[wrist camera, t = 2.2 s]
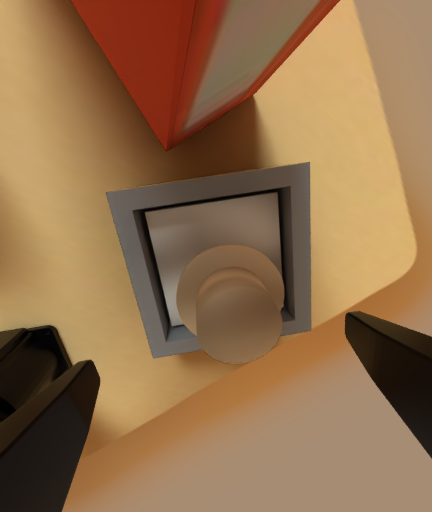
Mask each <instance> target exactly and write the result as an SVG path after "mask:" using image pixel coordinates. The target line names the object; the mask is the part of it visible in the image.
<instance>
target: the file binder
mask: <svg viewBox="0 0 432 512" xmlns="http://www.w3.org/2000/svg"><path fill="white" fill-rule="evenodd" d="M339 1H340V0H71V2H72V4H73V5H74V7H75V8H76V10H77V11H78V13H79V15H80V16H81V18H82V19H83V21H84V22H85V24H86V26H87V27H88V29H89V30H90V32H91V34H92V35H93V37H94V38H95V40H96V41H97V43H98V45H99V46H100V48H101V49H102V51H103V52H104V54H105V56H106V57H107V59H108V60H109V62H110V63H111V65H112V67H113V68H114V70H115V71H116V73H117V74H118V76H119V78H120V79H121V81H122V82H123V84H124V85H125V87H126V89H127V90H128V92H129V93H130V95H131V96H132V98H133V100H134V101H135V103H136V104H137V106H138V108H139V109H140V111H141V112H142V114H143V115H144V117H145V119H146V120H147V122H148V123H149V125H150V126H151V128H152V130H153V131H154V133H155V134H156V136H157V137H158V139H159V141H160V142H161V144H162V145H163V147H164V148H165V150H166V151H167V150H170V149H171V148H173V147H175V146H176V145H178V144H179V143H181V142H182V141H184V140H185V139H187V138H188V137H190V136H191V135H193V134H194V133H196V132H197V131H199V130H201V129H202V128H204V127H205V126H207V125H208V124H210V123H211V122H213V121H214V120H216V119H217V118H219V117H220V116H222V115H223V114H225V113H227V112H228V111H230V110H231V109H233V108H234V107H236V106H237V105H239V104H240V103H242V102H243V101H245V100H246V99H248V98H249V97H250V96H252V95H253V94H255V93H256V92H257V91H258V90H259V89H260V88H261V87H262V85H263V84H264V83H265V82H266V81H267V80H268V79H269V78H270V77H271V76H272V74H273V73H274V72H275V71H276V70H277V69H278V68H279V67H280V66H281V65H282V63H283V62H284V61H285V60H286V59H287V58H288V57H289V56H290V55H291V54H292V52H293V51H294V50H295V49H296V48H297V47H298V46H299V45H300V44H301V43H302V41H303V40H304V39H305V38H306V37H307V36H308V35H309V34H310V33H311V32H312V31H313V29H314V28H315V27H316V26H317V25H318V24H319V23H320V22H321V21H322V20H323V18H324V17H325V16H326V15H327V14H328V13H329V12H330V11H331V10H332V9H333V7H334V6H335V5H336V4H337V3H338V2H339Z"/></svg>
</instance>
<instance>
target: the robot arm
mask: <svg viewBox="0 0 432 512" xmlns="http://www.w3.org/2000/svg"><path fill="white" fill-rule="evenodd" d="M47 330H49V331H50V332H48V331H47ZM345 335H346V338H347V340H348V341H349V343H350V344H351V346H352V348H353V350H354V351H355V353H356V354H357V356H358V357H359V359H360V361H361V363H362V364H363V366H364V367H365V369H366V371H367V372H368V374H369V375H370V377H371V378H372V380H373V381H374V383H375V384H376V385H377V387H378V388H379V389H380V391H381V392H382V393H383V395H384V396H385V397H386V399H387V400H388V401H389V402H390V404H391V405H392V407H393V408H394V409H395V411H396V412H397V413H398V415H399V416H400V417H401V419H402V420H403V421H404V423H405V424H406V425H407V426H408V428H409V429H410V430H411V432H412V433H413V434H414V436H415V437H416V438H417V440H418V441H419V442H420V444H421V445H422V446H423V448H424V449H425V450H426V452H427V453H428V454H429V455H430V457H431V458H432V337H430V336H428V335H425V334H423V333H420V332H417V331H414V330H411V329H408V328H406V327H403V326H400V325H397V324H394V323H392V322H389V321H386V320H383V319H380V318H377V317H375V316H372V315H369V314H366V313H363V312H361V311H354V312H348V313H347V314H346V316H345ZM99 387H100V377H99V374H98V372H97V369H96V367H95V365H94V362H93V361H92V360H85V361H80V362H78V363H76V364H75V365H74V366H71V364H70V362H69V359H68V357H67V355H66V352H65V350H64V348H63V345H62V343H61V341H60V339H59V336H58V334H57V332H56V329H55V328H54V327H53V326H51V325H46V326H40V327H34V328H28V329H27V328H20V329H14V330H8V331H2V332H0V512H62V509H63V506H64V503H65V500H66V497H67V494H68V491H69V489H70V486H71V483H72V480H73V477H74V474H75V471H76V468H77V465H78V462H79V459H80V456H81V453H82V450H83V447H84V444H85V441H86V438H87V435H88V432H89V428H90V424H91V420H92V416H93V412H94V408H95V404H96V399H97V395H98V391H99Z"/></svg>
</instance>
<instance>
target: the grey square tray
mask: <svg viewBox="0 0 432 512" xmlns="http://www.w3.org/2000/svg"><path fill="white" fill-rule="evenodd" d="M269 192H278V211H279V230H280V249H281V269H282V280H283V284H284V301H283V307H282V308H281V311H280V313H281V316H282V331H281V334H280V336H285V335H290V334H296V333H302V332H307V331H311V243H310V162H306V163H297V164H288V165H279V166H272V167H265V168H258V169H252V170H245V171H238V172H231V173H225V174H218V175H211V176H205V177H198V178H191V179H184V180H178V181H171V182H164V183H157V184H151V185H144V186H137V187H131V188H125V189H121V190H116V191H111V192H106V195H107V198H108V202H109V206H110V209H111V213H112V216H113V220H114V223H115V227H116V230H117V234H118V237H119V241H120V244H121V248H122V251H123V255H124V258H125V262H126V265H127V269H128V272H129V276H130V279H131V283H132V286H133V290H134V293H135V297H136V300H137V304H138V307H139V311H140V314H141V318H142V321H143V325H144V328H145V332H146V335H147V339H148V342H149V346H150V349H151V353H152V356H153V358H159V357H165V356H171V355H176V354H182V353H188V352H193V351H199V350H203V349H202V347H201V346H200V344H199V342H198V338H197V336H196V335H194V334H193V333H192V332H191V331H190V330H189V329H188V328H187V327H186V326H185V325H184V324H182V325H176V326H172V325H171V320H170V316H169V312H168V308H167V304H166V299H165V295H164V291H163V287H162V283H161V279H160V274H159V270H158V266H157V262H156V258H155V253H154V249H153V245H152V241H151V237H150V232H149V228H148V224H147V220H146V216H145V212H146V211H152V210H158V209H165V208H171V207H178V206H184V205H191V204H197V203H204V202H211V201H217V200H224V199H230V198H237V197H243V196H250V195H256V194H263V193H269Z"/></svg>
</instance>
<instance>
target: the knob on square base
mask: <svg viewBox="0 0 432 512" xmlns="http://www.w3.org/2000/svg"><path fill="white" fill-rule="evenodd" d="M145 216H146V220H147V224H148V228H149V232H150V237H151V241H152V245H153V249H154V253H155V258H156V262H157V266H158V270H159V274H160V279H161V283H162V287H163V291H164V295H165V299H166V304H167V308H168V312H169V316H170V320H171V325H172V326H176V325H182V324H184V325H185V326H186V327H187V328H188V329H189V330H190V331H191V332H192V333H193V334H194V335H196V336H197V338H198V342H199V344H200V346H201V347H202V349H203V350H204V351H205V352H206V353H207V354H208V355H209V356H210V357H212V358H213V359H215V360H218V361H220V362H223V363H228V364H243V363H248V362H251V361H254V360H256V359H259V358H260V357H262V356H264V355H265V354H266V353H268V352H269V351H270V350H271V349H272V348H273V347H274V345H275V344H276V343H277V341H278V339H279V337H280V334H281V331H282V316H281V313H280V311H281V308H282V307H283V301H284V284H283V280H282V269H281V249H280V230H279V211H278V192H269V193H263V194H256V195H250V196H243V197H237V198H230V199H224V200H217V201H211V202H204V203H197V204H191V205H184V206H178V207H171V208H165V209H158V210H152V211H146V212H145Z"/></svg>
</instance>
